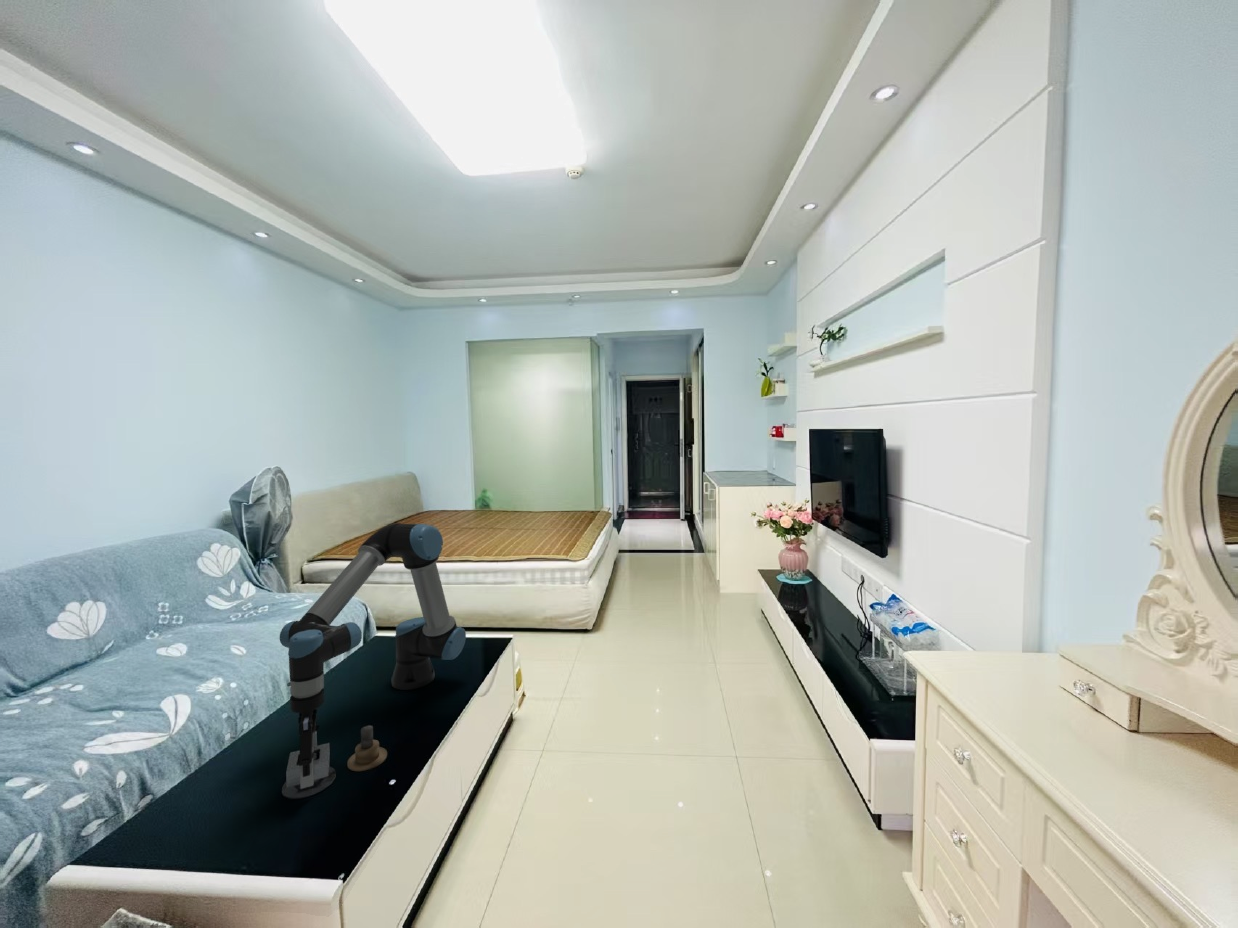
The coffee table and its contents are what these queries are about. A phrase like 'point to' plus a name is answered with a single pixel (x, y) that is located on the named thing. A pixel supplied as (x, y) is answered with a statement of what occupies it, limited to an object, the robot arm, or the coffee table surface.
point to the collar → (318, 765)
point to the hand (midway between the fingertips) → (309, 770)
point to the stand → (367, 752)
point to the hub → (317, 787)
